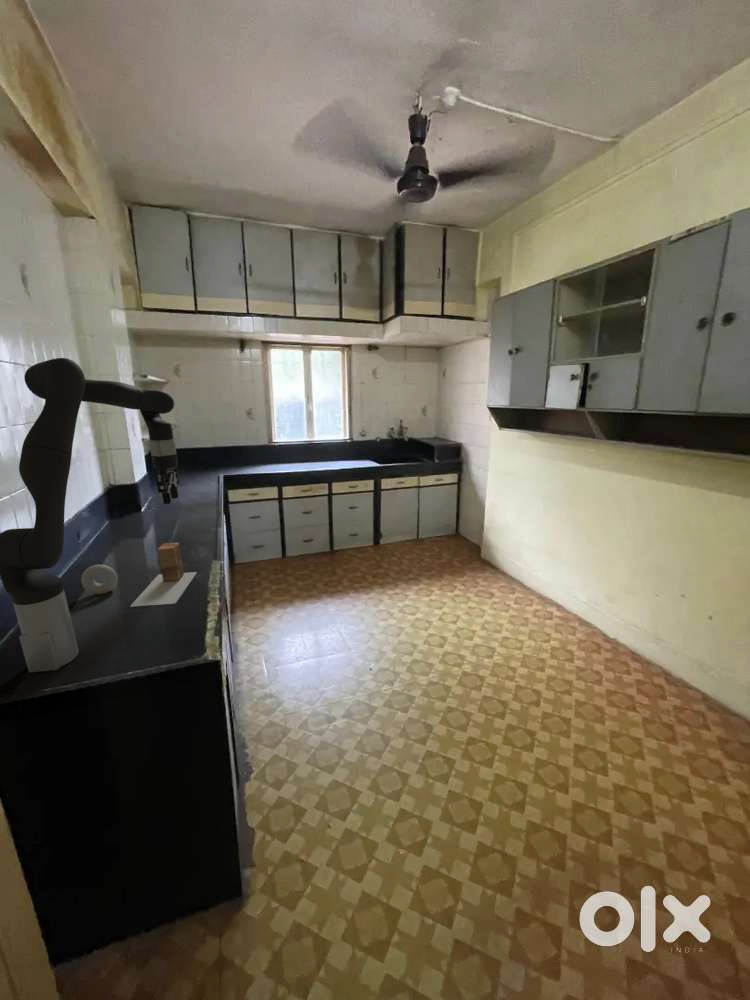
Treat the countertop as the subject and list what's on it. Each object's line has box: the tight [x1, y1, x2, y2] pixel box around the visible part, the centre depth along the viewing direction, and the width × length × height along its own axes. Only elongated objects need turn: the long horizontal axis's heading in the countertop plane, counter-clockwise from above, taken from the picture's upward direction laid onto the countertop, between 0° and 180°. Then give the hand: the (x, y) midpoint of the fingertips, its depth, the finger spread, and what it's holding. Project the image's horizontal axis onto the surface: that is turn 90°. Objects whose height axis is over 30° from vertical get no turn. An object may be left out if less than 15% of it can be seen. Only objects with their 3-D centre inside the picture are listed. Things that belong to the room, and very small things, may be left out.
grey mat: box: [129, 571, 198, 608], centre depth 132 cm, size 22×13×1 cm, turn 7°
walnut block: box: [157, 542, 185, 582], centre depth 137 cm, size 5×5×12 cm
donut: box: [80, 564, 119, 595], centre depth 128 cm, size 10×3×10 cm, turn 105°
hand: (171, 500), depth 139 cm, fingers open, 6 cm apart
